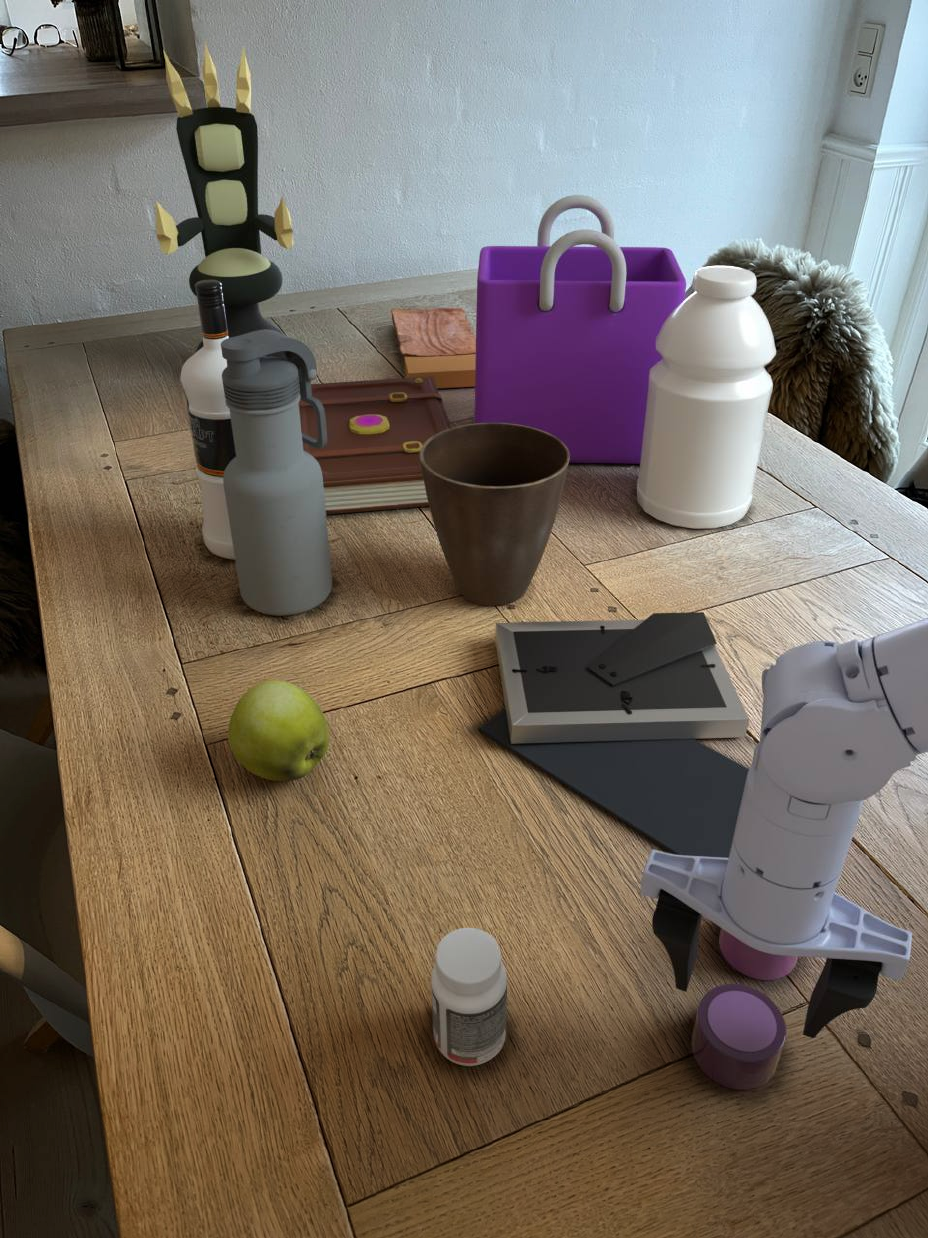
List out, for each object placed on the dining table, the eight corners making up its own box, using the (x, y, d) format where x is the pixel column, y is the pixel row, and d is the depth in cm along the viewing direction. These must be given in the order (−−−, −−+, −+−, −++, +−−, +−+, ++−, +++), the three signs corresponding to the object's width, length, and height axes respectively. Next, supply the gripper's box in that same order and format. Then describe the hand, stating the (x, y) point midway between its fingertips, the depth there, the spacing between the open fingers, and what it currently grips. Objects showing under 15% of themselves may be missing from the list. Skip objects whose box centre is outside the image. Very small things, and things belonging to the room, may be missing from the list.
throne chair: (183, 396, 152) (124, 57, 126) (186, 346, 169) (135, 39, 144) (308, 386, 155) (276, 53, 129) (298, 338, 173) (268, 36, 147)
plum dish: (811, 946, 71) (821, 916, 69) (772, 995, 68) (781, 965, 66) (744, 903, 74) (751, 874, 72) (704, 948, 71) (710, 918, 69)
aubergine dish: (793, 1049, 64) (802, 1019, 63) (748, 1108, 61) (757, 1078, 59) (720, 997, 68) (727, 967, 66) (674, 1051, 64) (680, 1021, 62)
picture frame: (699, 635, 101) (494, 639, 100) (703, 612, 100) (495, 616, 99) (745, 737, 88) (510, 744, 87) (750, 712, 87) (512, 718, 85)
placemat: (833, 819, 81) (834, 816, 81) (755, 906, 74) (756, 903, 73) (564, 670, 97) (564, 667, 96) (478, 730, 90) (478, 727, 89)
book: (434, 403, 149) (433, 370, 146) (470, 503, 124) (470, 467, 121) (280, 413, 146) (276, 381, 143) (284, 519, 121) (280, 482, 118)
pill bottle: (520, 1032, 65) (524, 952, 61) (471, 1083, 63) (471, 1003, 58) (467, 989, 68) (467, 909, 63) (418, 1036, 65) (414, 955, 60)
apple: (280, 720, 91) (270, 649, 86) (352, 764, 86) (345, 692, 81) (212, 766, 86) (197, 694, 81) (284, 816, 81) (273, 742, 77)
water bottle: (299, 558, 114) (271, 312, 98) (354, 591, 108) (334, 337, 92) (223, 593, 108) (180, 338, 92) (276, 630, 102) (241, 365, 86)
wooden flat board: (406, 391, 153) (405, 371, 151) (391, 326, 177) (390, 307, 175) (490, 387, 154) (490, 366, 153) (464, 322, 179) (464, 304, 177)
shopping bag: (482, 481, 129) (484, 239, 112) (456, 413, 147) (454, 195, 129) (691, 465, 133) (725, 228, 115) (641, 400, 150) (664, 187, 133)
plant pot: (406, 564, 112) (400, 433, 103) (528, 541, 117) (533, 412, 107) (450, 639, 101) (448, 498, 92) (584, 610, 105) (595, 472, 96)
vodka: (281, 562, 113) (247, 295, 96) (198, 564, 113) (149, 296, 95) (289, 521, 120) (260, 267, 103) (212, 523, 120) (169, 268, 103)
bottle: (671, 540, 117) (705, 299, 101) (614, 488, 127) (636, 262, 111) (773, 518, 121) (820, 283, 105) (709, 469, 131) (743, 249, 115)
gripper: (938, 837, 54) (877, 990, 62) (673, 761, 59) (648, 911, 67) (930, 937, 49) (865, 1090, 57) (640, 844, 54) (617, 997, 61)
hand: (746, 999), depth 61 cm, fingers open, 7 cm apart
